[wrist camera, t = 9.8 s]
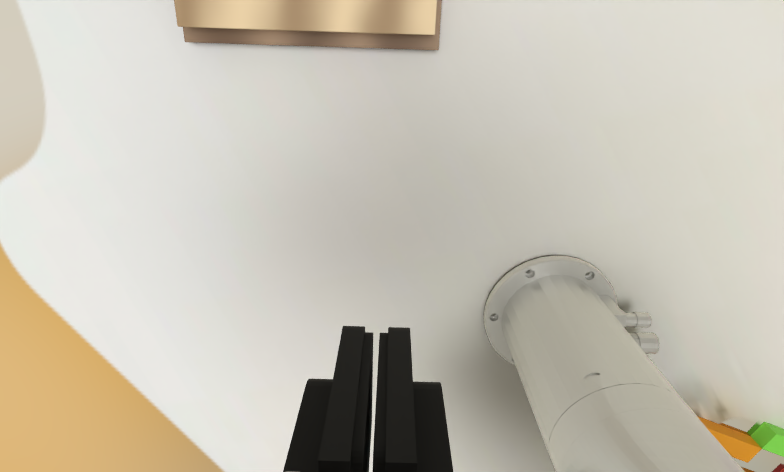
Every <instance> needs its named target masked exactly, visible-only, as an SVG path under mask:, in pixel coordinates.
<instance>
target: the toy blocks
mask: <svg viewBox="0 0 784 472" xmlns="http://www.w3.org/2000/svg"><path fill="white" fill-rule="evenodd" d="M697 417H698V418H699V419H700V421H701V422H702V423H703V424H704V425H705V427H706V428H707V429H708V430H709V431H710V432H711V434H712V435H713V436H714V437H715V438H716V439H717V440H718V442H719V443H720V444H721V445H722V446H723V447H724V448H725V450H726V451H727V452H728V453H729V454H730V455H731V456H732V457H734V458H736V459H739V460H742V461H745V462H749V461H750V460H751V459H752V458H753V457H754V456H755V455H756V454H757V453H758V452H759V451H760V450H761V449H764V450H767V451H770V452H772V453H775V454H778V455H780V456H783V457H784V429H782V428H779V427H777V426H774V425H772V424H769V423H766V422H763V424H762V425H761V424H759V423H757V422H756V423H755V424H754V425H753V426H752V427H751V429H750V430H748V432H745V431H742V430H740V429H737V428H734V427H732V426H729V425H726V424H724V423H720V424H717V423H715V422H712V421H709V420H707V419H704V418H701V417H699V416H697ZM740 467H741V466H740ZM741 468H742V469H743V470H744V471H745V472H754V471H752V470H749V469H746V468H743V467H741ZM772 472H784V464H779V465H778V466H777V467H776V468H775V469H774V470H773V471H772Z"/></svg>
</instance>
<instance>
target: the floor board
mask: <svg viewBox="0 0 784 472" xmlns="http://www.w3.org/2000/svg"><path fill="white" fill-rule="evenodd" d="M174 3H175V10H176V17H177V25H178V26H179V27H183V31H184V39H185V42H201V43H232V44H263V45H294V46H325V47H357V48H388V49H419V50H438V49H439V34H440V18H441V3H442V0H174Z"/></svg>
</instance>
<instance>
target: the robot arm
mask: <svg viewBox="0 0 784 472" xmlns="http://www.w3.org/2000/svg"><path fill="white" fill-rule="evenodd" d="M528 270H529V271H528ZM526 271H527V272H526ZM651 321H652V320H651V316H650V315H649V313H644V312H633V313H625V312H624V311H623V310H621V309H620V308H619V307H618V304H617V297H616V294H615V292H614V289H613V287H612V285H611V284H610V282H609V281H608V280H607V278H606V277H605V276H604V275H603V274H602V273H601V272H600V271H599V270H598V269H597V268H595V267H594V266H592V265H591V264H590V263H587V262H585V261H583V260H580V259H578V258H573V257H568V256H547V257H540V258H537V259H533V260H530V261H527V262H525V263H523V264H521V265H519V266H517V267H515V268H514V269H513V270H511V271H510V272H508V273H507V274H506V275H505V276H504V277H503V278H502V279H501V280H500V281H499V282H498V283H497V284H496V285H495V287H494V288H493V290H492V291H491V293H490V295H489V297H488V300H487V302H486V305H485V311H484V326H485V330H486V333H487V336H488V339H489V341H490V344H491V345H492V347H493V348H494V349H495V351H496V352H497V353H498V354H499V355H500V356H501V357H502V358H503V359H504V360H506V361H508V362H509V363H511V364H513V365H515V366H516V368H517V371H518V374H519V376H520V379H521V382H522V384H523V387H524V390H525V392H526V395H527V398H528V400H529V403H530V406H531V408H532V411H533V414H534V416H535V419H536V422H537V424H538V427H539V430H540V432H541V435H542V437H543V440H544V443H545V445H546V448H547V451H548V453H549V456H550V459H551V461H552V463H553V466H554V469H555V471H556V472H745V471H744V470H743V469H742V468H741V467H740V466H739V464H738V463H737V462H736V461H735V460H734V459H733V458H732V456H731V455H730V454H729V453H728V452H727V451H726V450H725V448H724V447H723V446H722V445H721V444H720V443H719V442H718V440H717V439H716V438H715V437H714V436H713V435H712V434H711V432H710V431H709V430H708V429H707V428H706V427H705V425H704V424H703V423H702V422H701V421H700V419H699V418H698V417H697V416H696V415H695V413H694V412H693V411H692V410H691V408H690V407H689V406H688V405H687V403H686V402H685V401H684V400H683V399H682V398H681V396H680V395H679V394H678V393H677V392H676V390H675V389H674V388H673V387H672V385H671V384H670V383H669V382H668V381H667V379H666V378H665V377H664V376H663V374H662V373H661V372H660V371H659V370H658V368H657V367H656V366H655V365H654V363H653V362H652V361H651V360H650V358H649V357H648V356H647V355H646V354H656V353H657V352H658V350H659V340H658V337H657V336H656V334H654V333H639V332H634V333H628V331H627V330H626V329H625V327H626V326H628V327H637V328H648V327H650V326H651ZM372 372H373V333H365V327H359V326H343V329H342V334H341V340H340V345H339V350H338V356H337V361H336V367H335V372H334V377H333V379H308V381H307V384H306V387H305V391H304V394H303V398H302V402H301V406H300V410H299V413H298V417H297V421H296V425H295V429H294V432H293V436H292V440H291V444H290V448H289V451H288V455H287V459H286V463H285V467H284V470H283V472H369V457H370V441H371V424H372ZM373 472H453V467H452V459H451V452H450V445H449V438H448V430H447V423H446V416H445V408H444V401H443V394H442V387H441V383H440V382H413V377H412V358H411V339H410V328H394V327H389V328H388V333H380V339H379V358H378V377H377V395H376V414H375V433H374V452H373Z"/></svg>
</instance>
